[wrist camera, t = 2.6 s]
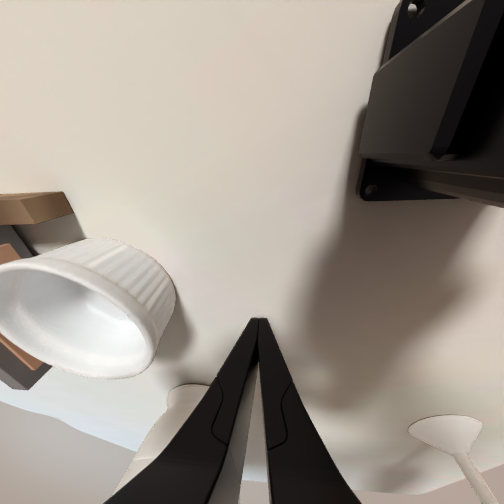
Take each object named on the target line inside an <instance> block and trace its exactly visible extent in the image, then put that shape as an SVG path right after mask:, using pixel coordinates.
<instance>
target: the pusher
mask: <svg viewBox="0 0 504 504" xmlns="http://www.w3.org/2000/svg"><path fill="white" fill-rule="evenodd" d="M32 257H33V255H32V254H31V253H30V251H29V250H28V249H27V247H26V246H25V244H24V243H23V242H22V240H21V239H20V237H19V236H18V235H17V233H16V232H15V231H14V229H13V228H12V226H11V225H0V265H2V264H5V263H8V262H11V261H15V260H20V259H26V258H32ZM51 367H52V365H49V364H47V363H45V362H43V361H41V360H39V359H37V358H35V357H33V356H31V355H30V354H28V353H27V352H25V351H24V350H22V349H21V348H19V347H18V346H17V345H15V344H13V343H12V342H11V341H10V340H8V339H7V338H6V337H5V336H4V335H2V334H1V333H0V380H1V381H3V382H4V383H5V384H7V385H8V386H9V387H11V388H12V389H18V390H29V389H30V388H31V387H32V386H33V385H34V384H35V383H36V382H37V381H38V380H39V379H40V378H41V377H42V376H43V375H44V374H45V373H46V372H47V371H48V370H49V369H50V368H51Z"/></svg>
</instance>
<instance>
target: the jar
mask: <svg viewBox="0 0 504 504" xmlns="http://www.w3.org/2000/svg"><path fill="white" fill-rule="evenodd" d="M209 387H210V386H205V385H197V384H188V385H182V386H178V387H176V388H174V389H172V390H171V391H170V392H169V394H168V396H167V411H166V412H165V413H164V414H163V415H162V416H161V417H160V418H159V419H158V421H157V422H156V423H155V424H154V426H153V427H152V428H151V430H150V431H149V433H148V434H147V436H146V437H145V439H144V441H143V442H142V444H141V446H140V447H139V449H138V451H137V453H136V455H135V457H134V459H133V461H132V463H131V465H130V467H129V468H128V470H127V471H126V473H125V474H124V476H123V478H122V480H121V481H120V483H119V484H118V486H117V488H116V490H115V492H114V493H113V495H114V494H115V493H116V492H117V491H118V490H120V489H121V488H122V487H123V486H124V485H125V484H127V483H128V482H129V481H130V480H131V479H132V478H134V477H135V476H136V475H137V474H138V473H140V472H141V471H142V470H143V469H144V468H145V467H147V466H148V465H149V464H150V463H151V462H152V461H153V460H154V459H155V458H156V457H157V456H158V455H159V454H160V453H161V452H162V451H163V450H164V449H165V447H166V446H167V445H168V444H169V442H170V441H171V440H172V438H173V437H174V436H175V434H176V433H177V432H178V430H179V429H180V428H181V426H182V425H183V424H184V422H185V421H186V420H187V418H188V417H189V416H190V414H191V413H192V412H193V410H194V409H195V408H196V406H197V405H198V403H199V402H200V401H201V399H202V398H203V396H204V395H205V393H206V392H207V390H208V388H209ZM113 495H112V496H113ZM238 504H240V493H239V500H238Z"/></svg>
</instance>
